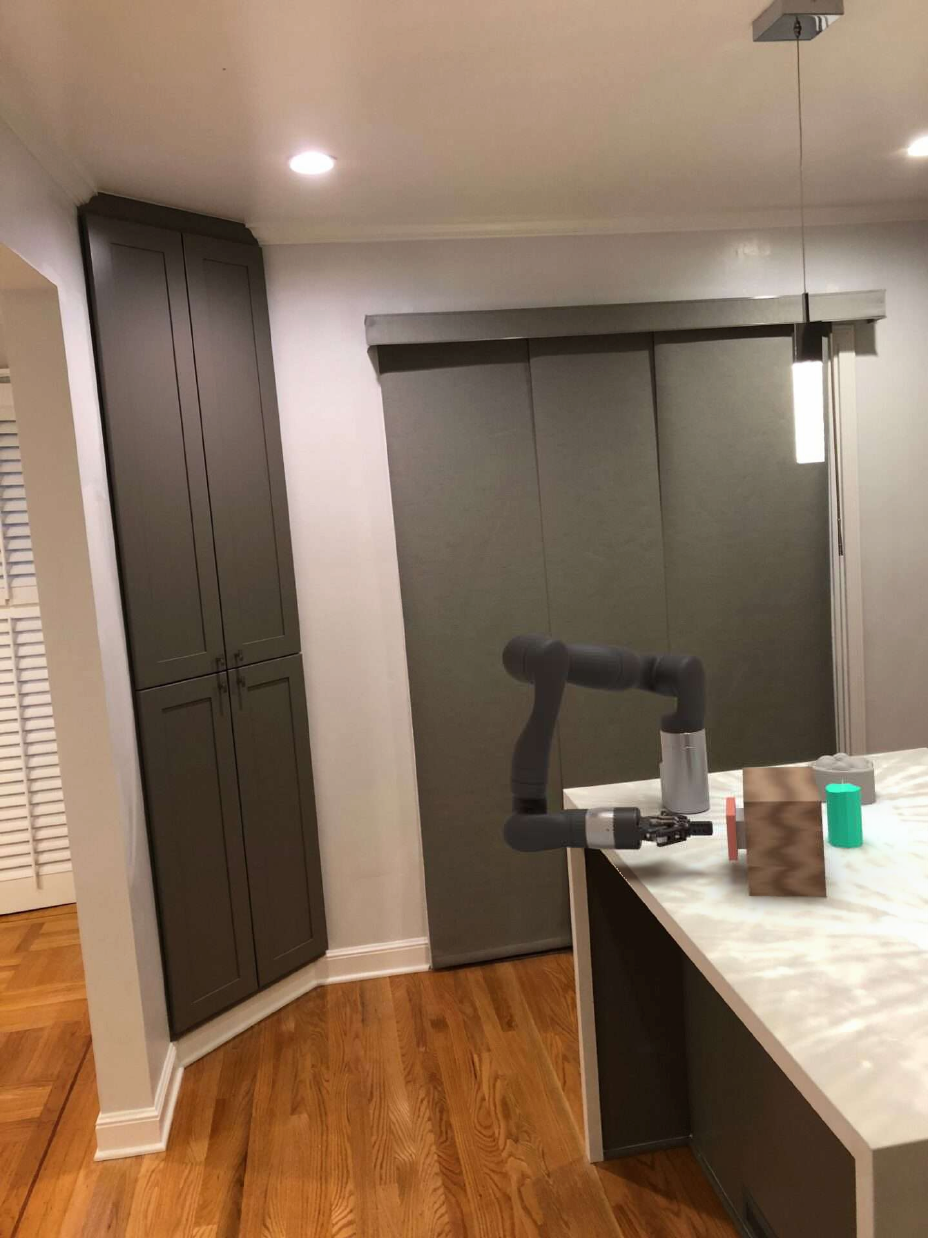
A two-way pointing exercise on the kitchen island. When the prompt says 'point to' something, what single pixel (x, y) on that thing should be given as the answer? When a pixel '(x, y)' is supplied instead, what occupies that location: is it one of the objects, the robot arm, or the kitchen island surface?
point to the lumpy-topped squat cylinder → (845, 774)
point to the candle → (844, 815)
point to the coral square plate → (735, 828)
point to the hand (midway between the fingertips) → (712, 828)
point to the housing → (783, 832)
